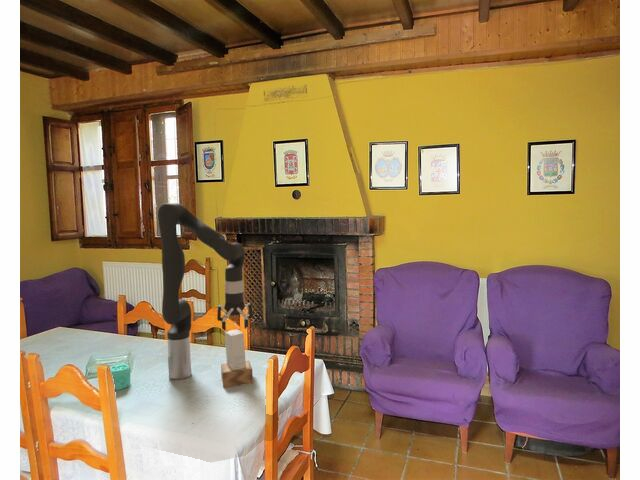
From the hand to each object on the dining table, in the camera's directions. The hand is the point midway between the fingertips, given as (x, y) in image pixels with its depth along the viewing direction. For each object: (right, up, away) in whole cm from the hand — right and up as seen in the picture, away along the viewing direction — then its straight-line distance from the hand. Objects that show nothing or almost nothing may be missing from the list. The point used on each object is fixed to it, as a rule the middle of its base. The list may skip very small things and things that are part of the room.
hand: (235, 329), depth 176 cm
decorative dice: (-48, -24, -1) cm, 53 cm away
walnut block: (0, -22, +2) cm, 22 cm away
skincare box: (0, -16, +1) cm, 16 cm away
